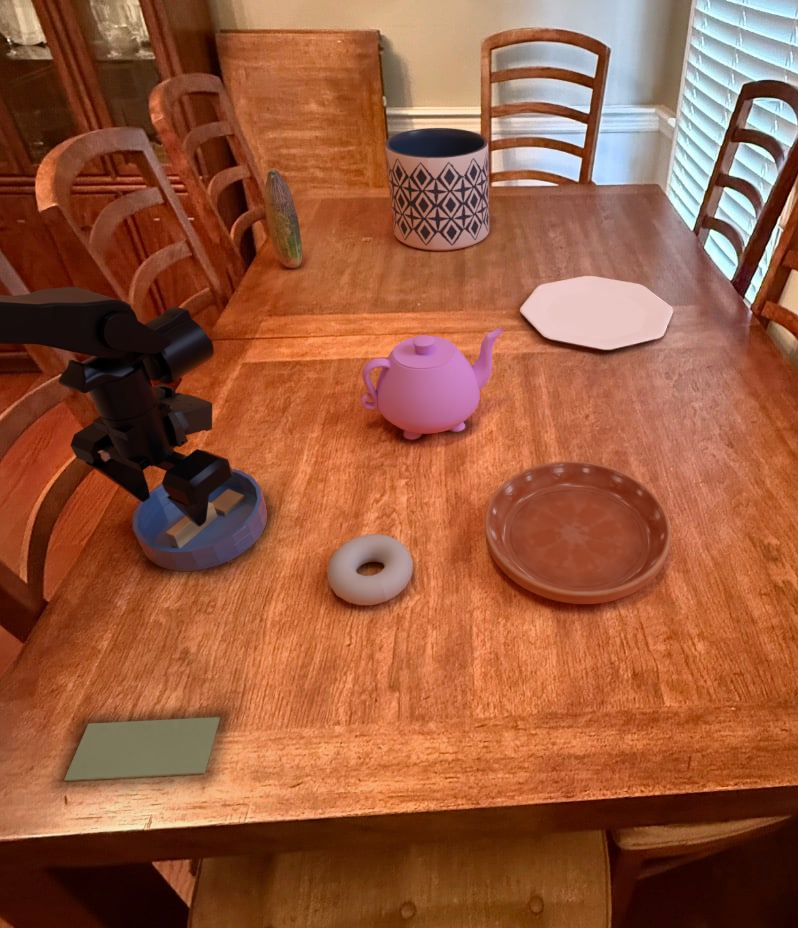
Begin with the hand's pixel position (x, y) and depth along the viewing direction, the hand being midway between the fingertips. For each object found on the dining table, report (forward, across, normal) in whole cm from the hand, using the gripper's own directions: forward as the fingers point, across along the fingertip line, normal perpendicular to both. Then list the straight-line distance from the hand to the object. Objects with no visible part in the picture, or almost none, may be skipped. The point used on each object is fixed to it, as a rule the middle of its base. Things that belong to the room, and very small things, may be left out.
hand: (173, 511), depth 83 cm
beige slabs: (+5, 0, -3) cm, 6 cm away
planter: (+6, +23, -100) cm, 103 cm away
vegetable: (+6, +42, -70) cm, 82 cm away
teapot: (+6, -14, -37) cm, 40 cm away
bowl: (+6, 0, -3) cm, 6 cm away
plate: (+6, -24, -79) cm, 83 cm away
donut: (+6, -24, -6) cm, 25 cm away
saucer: (+6, -43, -22) cm, 49 cm away
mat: (+6, -17, +22) cm, 28 cm away
